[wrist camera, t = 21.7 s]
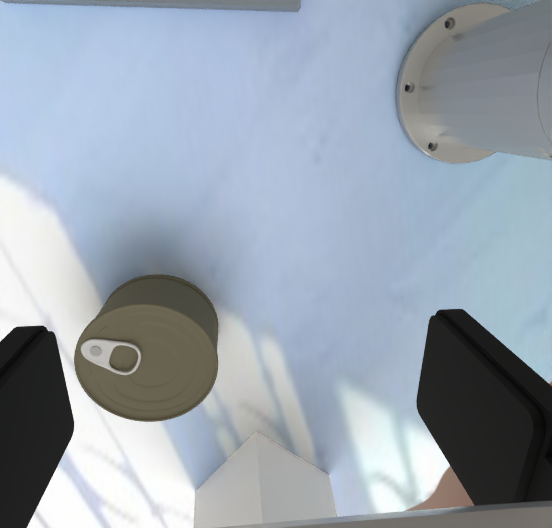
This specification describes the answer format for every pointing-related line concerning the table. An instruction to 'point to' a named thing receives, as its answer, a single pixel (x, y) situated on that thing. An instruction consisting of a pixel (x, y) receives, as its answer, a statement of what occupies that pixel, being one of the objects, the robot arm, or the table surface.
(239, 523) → the milk
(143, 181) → the table surface
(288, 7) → the board
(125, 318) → the can
